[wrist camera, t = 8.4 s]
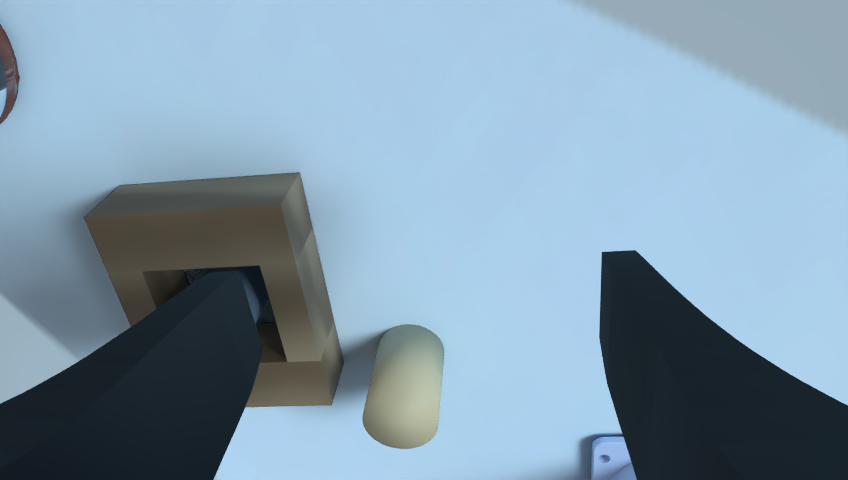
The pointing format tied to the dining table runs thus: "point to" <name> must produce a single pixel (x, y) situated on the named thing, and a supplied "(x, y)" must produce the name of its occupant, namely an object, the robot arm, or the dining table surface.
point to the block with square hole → (230, 247)
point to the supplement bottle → (7, 76)
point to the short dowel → (405, 388)
